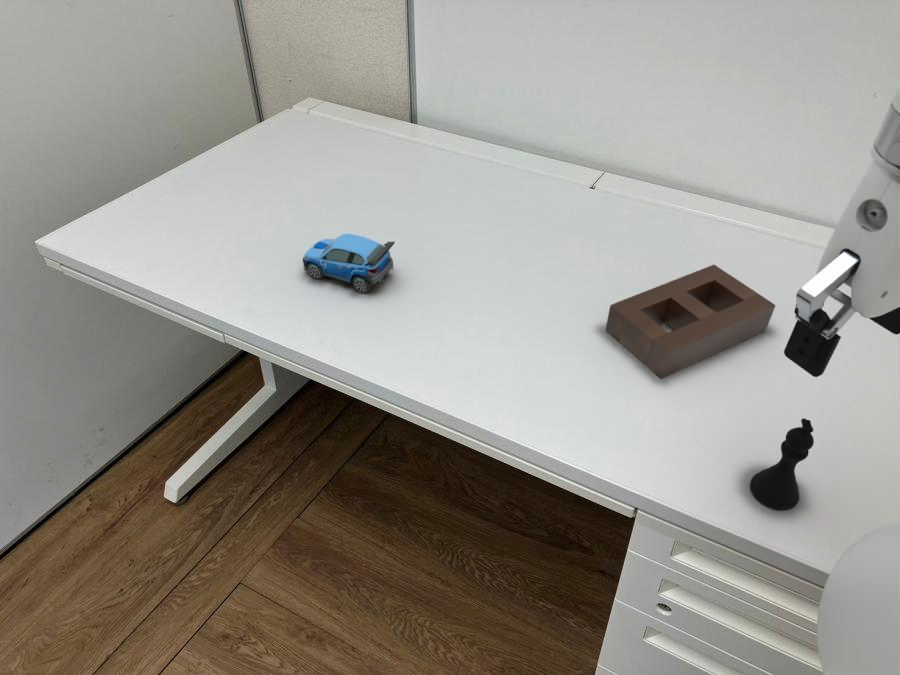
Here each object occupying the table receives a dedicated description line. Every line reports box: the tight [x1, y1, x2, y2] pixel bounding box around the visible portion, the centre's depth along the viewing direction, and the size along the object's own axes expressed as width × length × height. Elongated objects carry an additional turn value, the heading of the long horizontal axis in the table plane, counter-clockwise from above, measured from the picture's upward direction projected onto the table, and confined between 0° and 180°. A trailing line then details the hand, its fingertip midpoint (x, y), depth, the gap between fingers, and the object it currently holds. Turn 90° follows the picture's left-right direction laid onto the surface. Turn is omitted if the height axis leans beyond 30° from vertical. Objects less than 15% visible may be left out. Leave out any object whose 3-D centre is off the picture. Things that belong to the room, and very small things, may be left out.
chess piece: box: [749, 417, 815, 511], centre depth 64 cm, size 4×4×10 cm
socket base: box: [605, 264, 776, 380], centre depth 84 cm, size 10×17×4 cm, turn 120°
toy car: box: [302, 233, 396, 294], centre depth 92 cm, size 6×12×6 cm, turn 66°
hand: (843, 343), depth 56 cm, fingers open, 9 cm apart
